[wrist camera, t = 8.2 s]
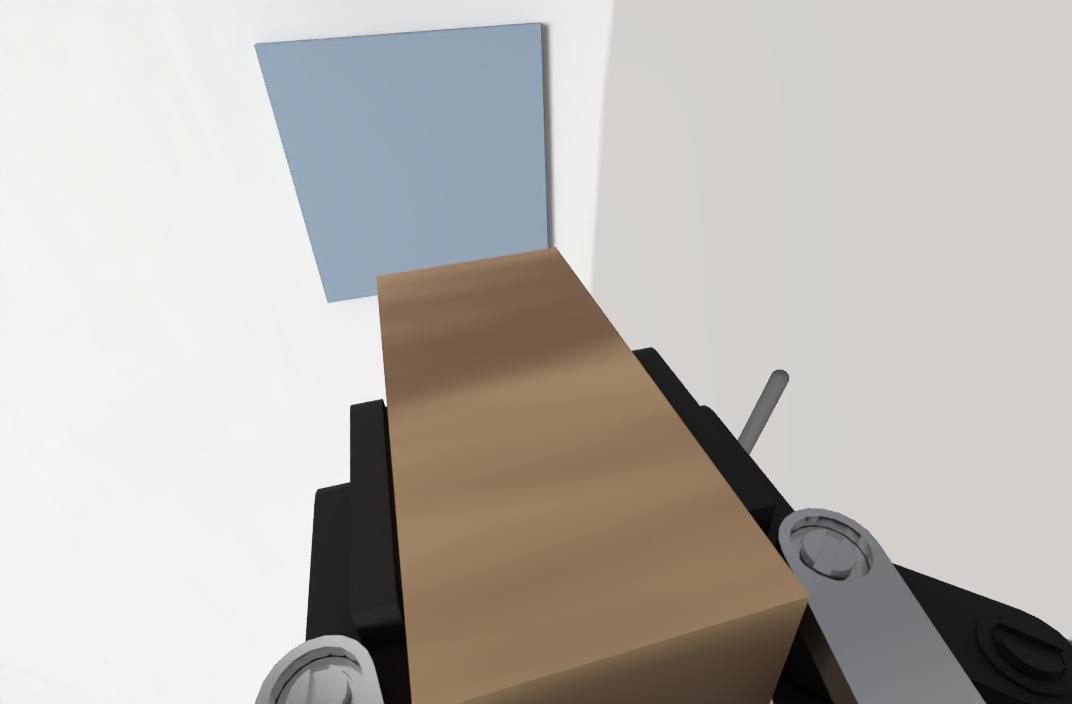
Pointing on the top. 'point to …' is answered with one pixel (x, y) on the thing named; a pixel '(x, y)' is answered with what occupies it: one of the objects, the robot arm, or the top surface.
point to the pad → (412, 148)
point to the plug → (562, 507)
